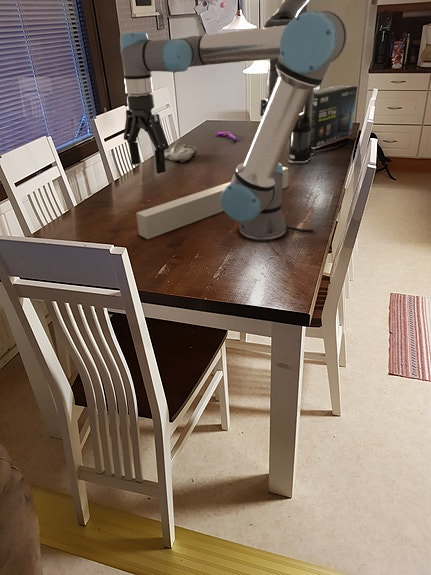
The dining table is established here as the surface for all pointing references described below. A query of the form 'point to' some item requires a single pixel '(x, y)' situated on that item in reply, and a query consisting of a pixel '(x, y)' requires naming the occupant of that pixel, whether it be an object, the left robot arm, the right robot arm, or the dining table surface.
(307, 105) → the right robot arm
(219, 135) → the handgun
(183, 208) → the beam
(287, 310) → the dining table surface
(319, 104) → the router box
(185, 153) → the fossil
